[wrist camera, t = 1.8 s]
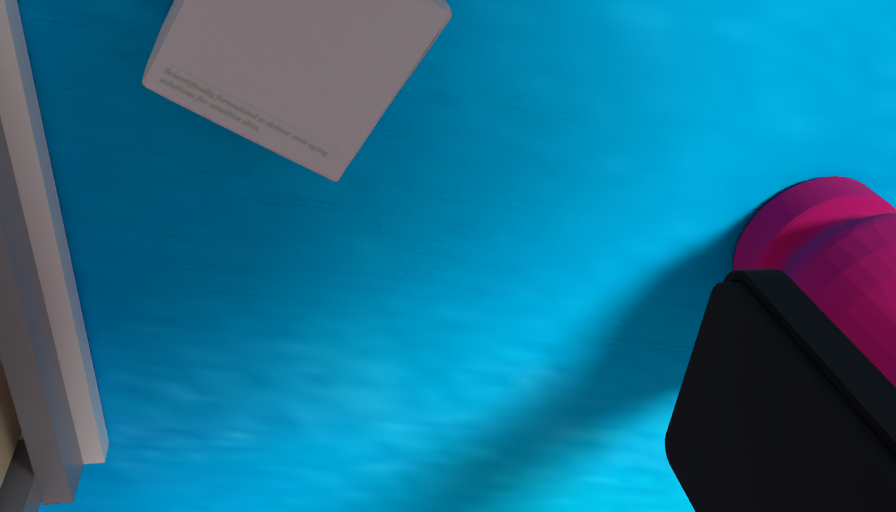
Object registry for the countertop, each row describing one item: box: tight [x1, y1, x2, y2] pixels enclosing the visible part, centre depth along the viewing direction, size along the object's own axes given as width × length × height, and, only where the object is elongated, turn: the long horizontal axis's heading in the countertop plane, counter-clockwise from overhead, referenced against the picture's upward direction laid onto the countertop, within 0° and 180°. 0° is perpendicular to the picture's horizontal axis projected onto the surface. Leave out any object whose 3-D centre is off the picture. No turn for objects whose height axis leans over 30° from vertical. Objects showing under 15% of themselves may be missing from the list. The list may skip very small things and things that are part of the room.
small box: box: [142, 0, 452, 182], centre depth 20 cm, size 6×6×5 cm
